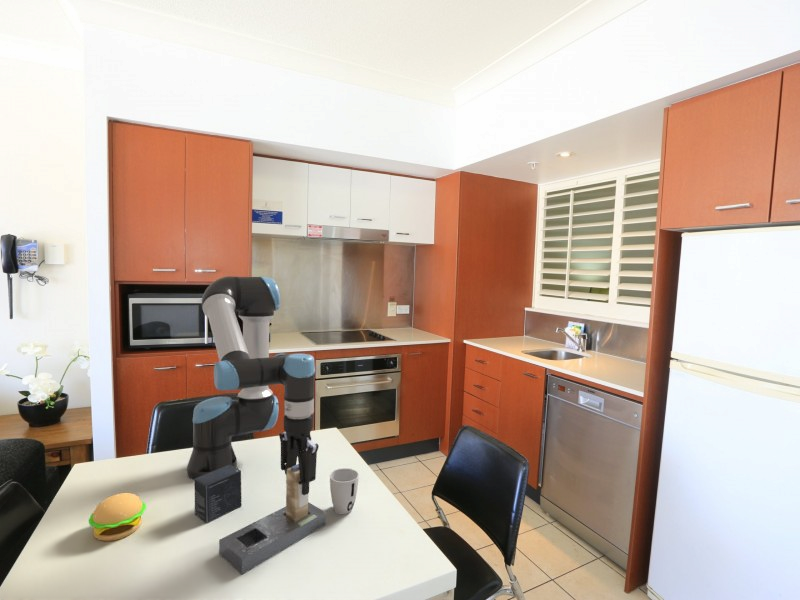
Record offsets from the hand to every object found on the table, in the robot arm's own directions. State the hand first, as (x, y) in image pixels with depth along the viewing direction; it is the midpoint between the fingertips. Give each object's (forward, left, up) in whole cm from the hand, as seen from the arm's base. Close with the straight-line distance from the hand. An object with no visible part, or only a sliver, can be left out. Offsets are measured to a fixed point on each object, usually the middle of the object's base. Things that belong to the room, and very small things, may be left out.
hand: (297, 501), depth 107 cm
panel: (0, -6, -7) cm, 9 cm away
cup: (+3, +14, -7) cm, 16 cm away
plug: (0, 0, -5) cm, 5 cm away
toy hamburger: (-33, -31, -7) cm, 45 cm away
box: (-22, -10, -7) cm, 25 cm away
